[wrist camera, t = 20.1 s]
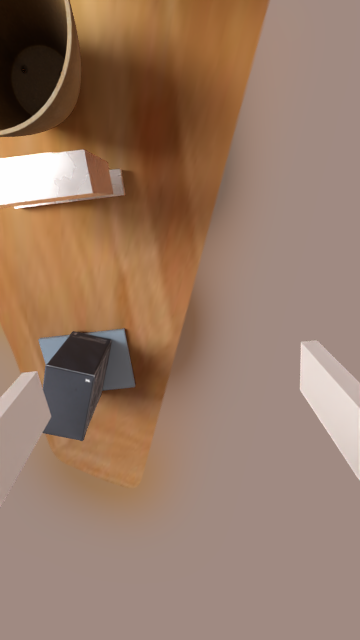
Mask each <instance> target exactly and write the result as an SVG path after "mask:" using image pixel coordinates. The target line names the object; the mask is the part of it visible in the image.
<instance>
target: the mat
mask: <svg viewBox="0 0 360 640" xmlns="http://www.w3.org/2000/svg"><path fill="white" fill-rule="evenodd" d="M85 334H88V335H92V336H96V337H102V338H106V339H111V340H112V344H111V349H110V355H109V360H108V365H107V369H106V374H105V379H104V384H103V389H102V391H103V390H112V389H122V388H131V387H135V380H134V375H133V370H132V365H131V360H130V355H129V349H128V344H127V339H126V334H125V329H116V330H107V331H99V332H90V333H85ZM69 336H70V335H64V336H55V337H46V338H40V339H39V343H40V347H41V350H42V353H43V357H44V360H45V363H46V364H47V363H48V362H49V361H50V360H51V358H52V357H53V356H54V355H55V353H56V352H57V351H58V350H59V348H60V347H61V346H62V345H63V343H64V342H65V341H66V339H67V338H68V337H69Z"/></svg>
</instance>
